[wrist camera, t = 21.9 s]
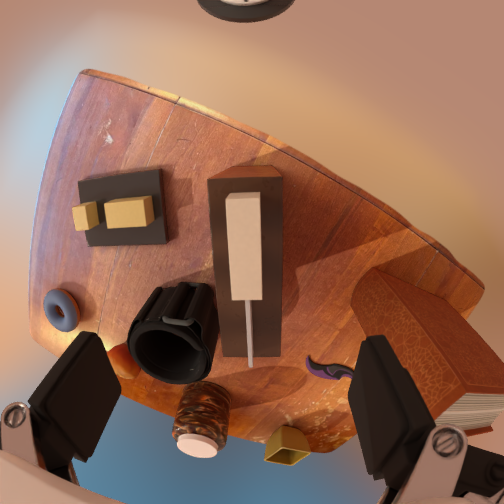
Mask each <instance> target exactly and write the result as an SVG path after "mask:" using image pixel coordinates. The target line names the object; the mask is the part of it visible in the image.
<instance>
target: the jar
mask: <svg viewBox="0 0 504 504" xmlns="http://www.w3.org/2000/svg"><path fill="white" fill-rule="evenodd" d="M230 410H231V397H230V395H229V393H228V392H227V391H226V390H225V389H223V388H222V387H220V386H218V385H216V384H213V383H210V382H204V381H197V382H194V383H190V384H188V385H186V386H185V388H184V389H183V392H182V395H181V399H180V402H179V406H178V409H177V413H176V417H175V420H174V424H173V430H172V435H173V438H174V439H175V440H176V441H177V446H178V448H179V449H180V450H181V451H183V452H184V453H186V454H188V455H191V456H195V457H201V458H209V457H213V456H215V455H216V454H217V451H220V450H222V449H223V448H224V447H225V445H226V440H227V435H228V427H229V419H230Z"/></svg>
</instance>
